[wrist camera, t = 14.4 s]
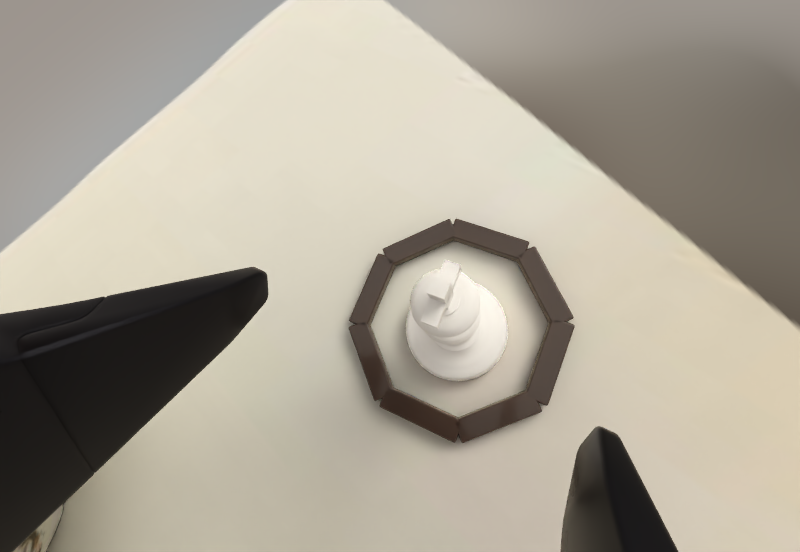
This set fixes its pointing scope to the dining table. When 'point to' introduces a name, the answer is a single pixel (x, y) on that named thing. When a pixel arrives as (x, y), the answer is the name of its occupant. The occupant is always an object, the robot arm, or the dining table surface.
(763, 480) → the dining table surface
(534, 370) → the spot ring
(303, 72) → the dining table surface
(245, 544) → the dining table surface
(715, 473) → the dining table surface
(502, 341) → the chess piece
